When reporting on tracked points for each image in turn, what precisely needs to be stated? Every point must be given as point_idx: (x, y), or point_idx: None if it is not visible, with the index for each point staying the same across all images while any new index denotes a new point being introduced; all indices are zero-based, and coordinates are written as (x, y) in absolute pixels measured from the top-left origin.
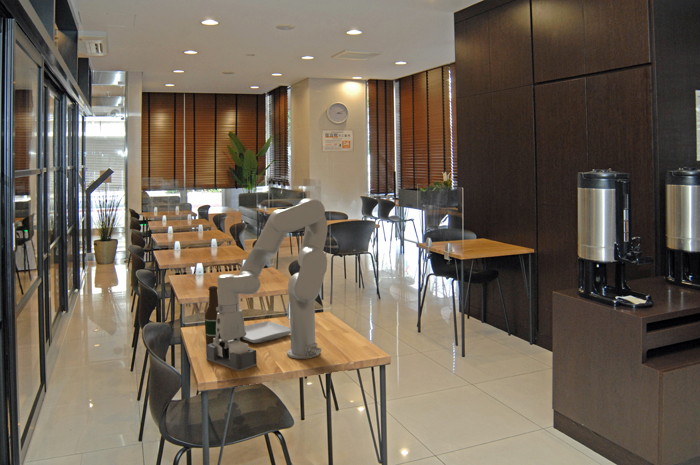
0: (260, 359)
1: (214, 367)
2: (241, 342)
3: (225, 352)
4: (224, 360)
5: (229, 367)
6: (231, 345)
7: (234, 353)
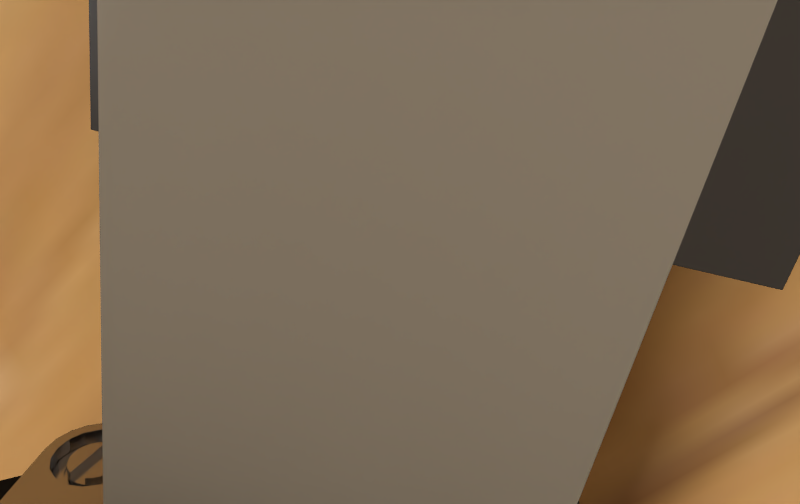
0: (63, 10)
1: (710, 431)
2: (144, 291)
3: None
4: None
5: None
6: (564, 488)
7: (769, 107)
